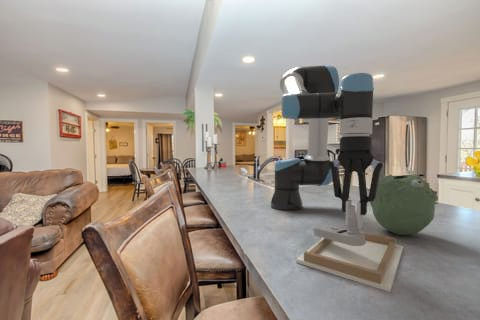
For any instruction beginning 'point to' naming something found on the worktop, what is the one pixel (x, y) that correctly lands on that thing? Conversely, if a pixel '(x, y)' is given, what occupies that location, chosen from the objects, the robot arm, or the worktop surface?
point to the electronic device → (342, 231)
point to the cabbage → (404, 204)
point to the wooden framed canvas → (357, 260)
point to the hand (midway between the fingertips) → (353, 225)
